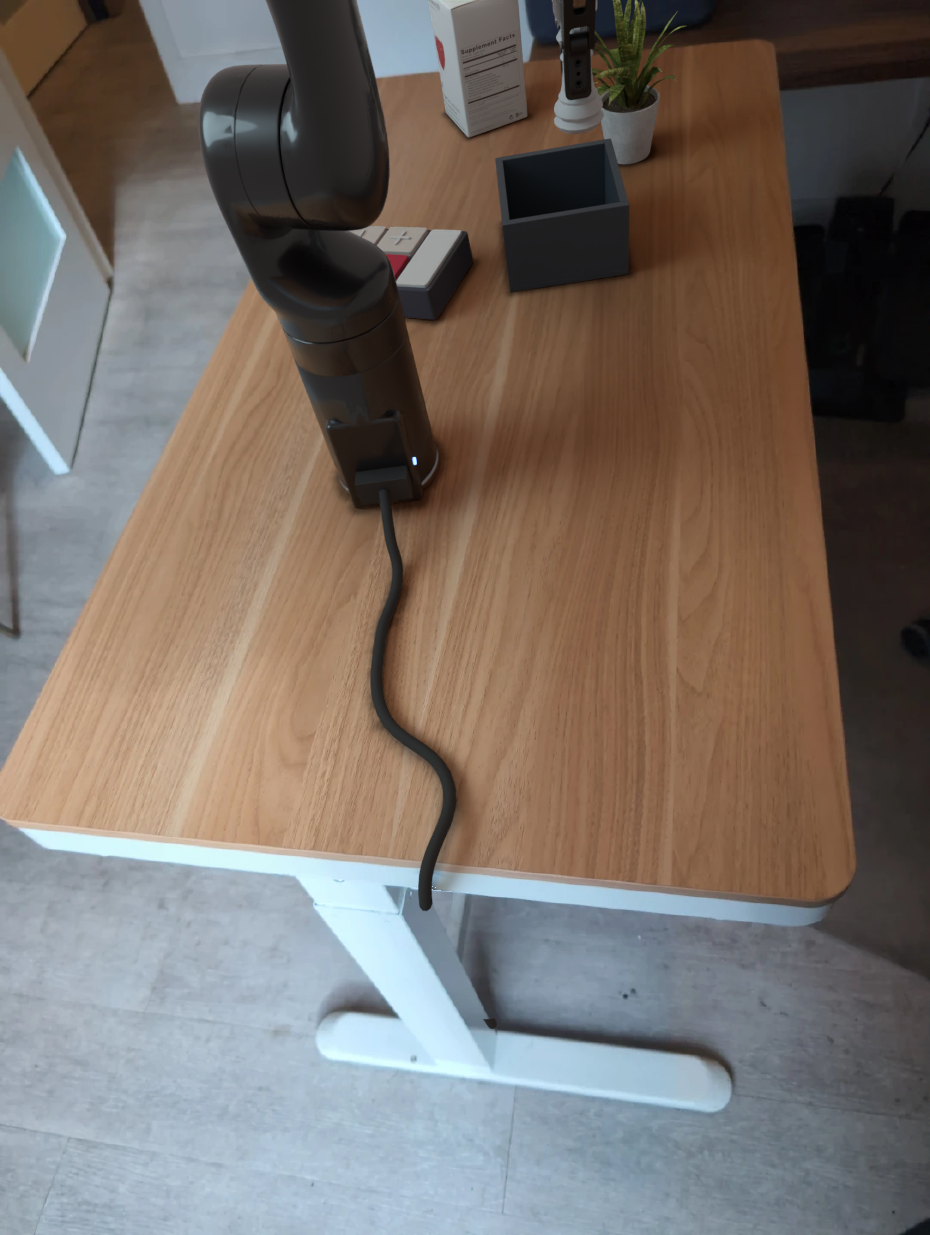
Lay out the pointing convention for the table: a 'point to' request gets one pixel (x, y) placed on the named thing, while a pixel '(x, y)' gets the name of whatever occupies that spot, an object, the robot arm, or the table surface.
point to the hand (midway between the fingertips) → (576, 85)
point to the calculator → (423, 264)
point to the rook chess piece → (577, 106)
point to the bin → (563, 215)
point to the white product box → (480, 62)
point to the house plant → (629, 87)
